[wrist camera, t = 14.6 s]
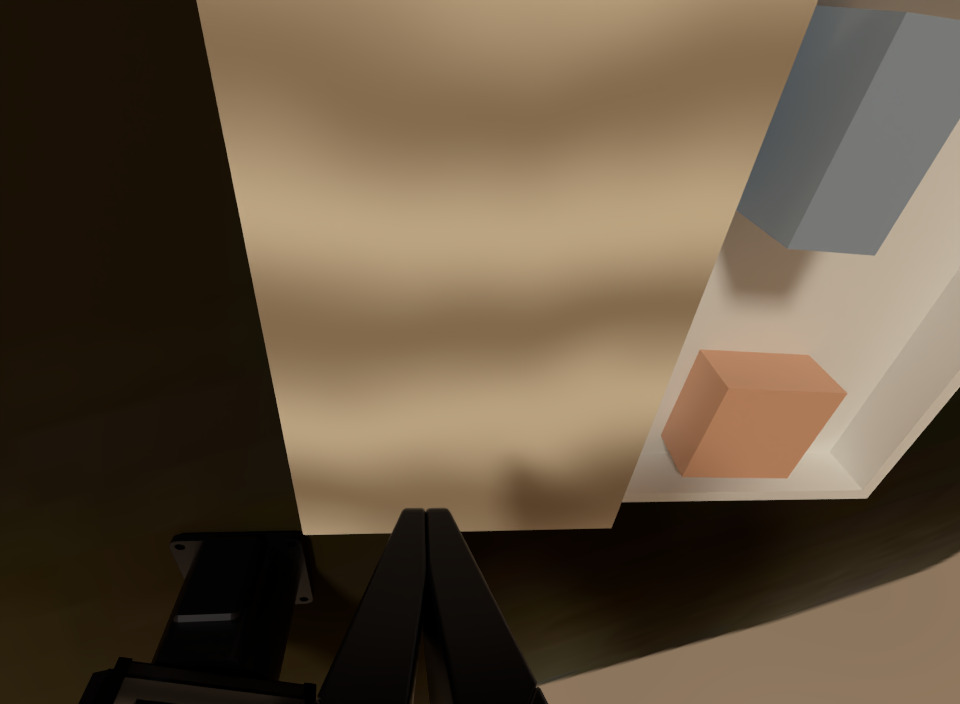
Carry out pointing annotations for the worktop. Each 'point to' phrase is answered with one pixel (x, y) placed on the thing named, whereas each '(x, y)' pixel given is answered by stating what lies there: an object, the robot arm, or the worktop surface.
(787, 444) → the tile terracotta
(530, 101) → the birch board
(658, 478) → the bin
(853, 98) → the tile slate
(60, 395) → the worktop surface
